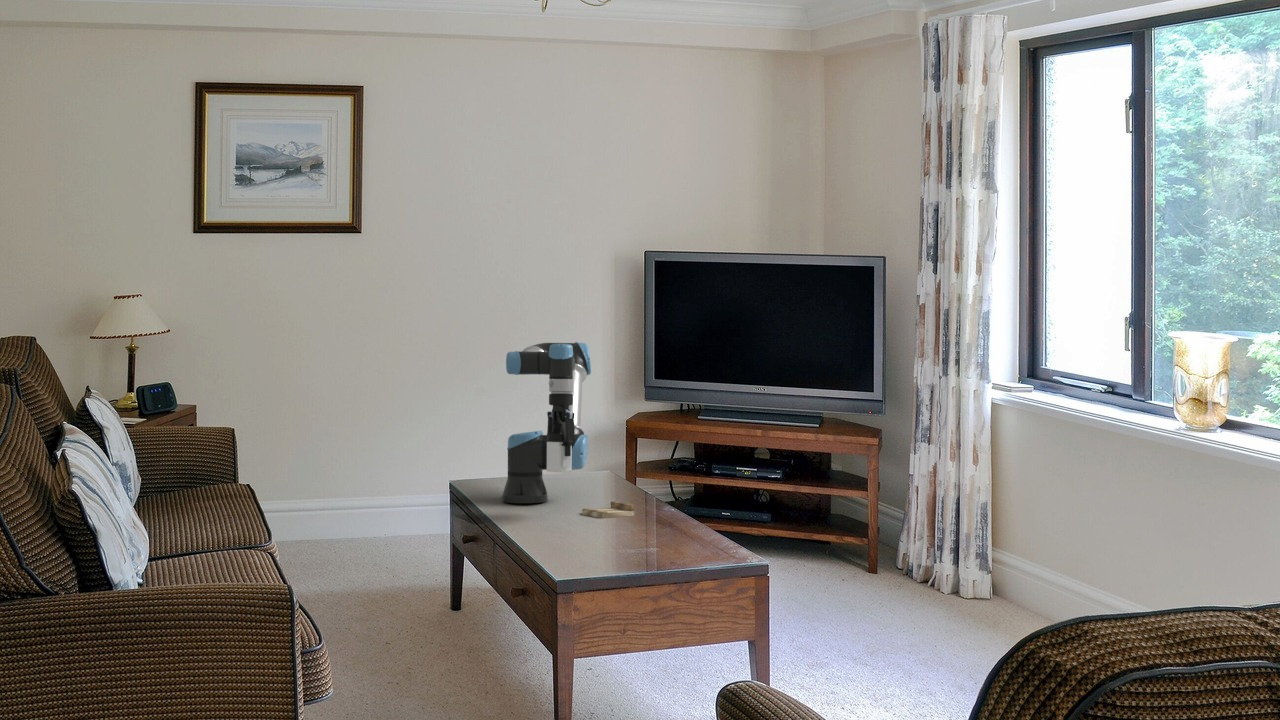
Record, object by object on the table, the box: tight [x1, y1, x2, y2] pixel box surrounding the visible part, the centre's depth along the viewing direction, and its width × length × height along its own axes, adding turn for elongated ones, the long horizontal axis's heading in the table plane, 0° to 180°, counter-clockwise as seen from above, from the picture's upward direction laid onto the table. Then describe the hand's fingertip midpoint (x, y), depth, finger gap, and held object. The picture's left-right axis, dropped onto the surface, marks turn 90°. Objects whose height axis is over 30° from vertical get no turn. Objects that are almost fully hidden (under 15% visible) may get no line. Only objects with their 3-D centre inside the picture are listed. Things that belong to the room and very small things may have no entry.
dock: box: [581, 501, 635, 519], centre depth 348 cm, size 12×12×4 cm
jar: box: [546, 432, 573, 473], centre depth 345 cm, size 9×8×12 cm
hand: (560, 465), depth 344 cm, fingers closed on jar, 6 cm apart
